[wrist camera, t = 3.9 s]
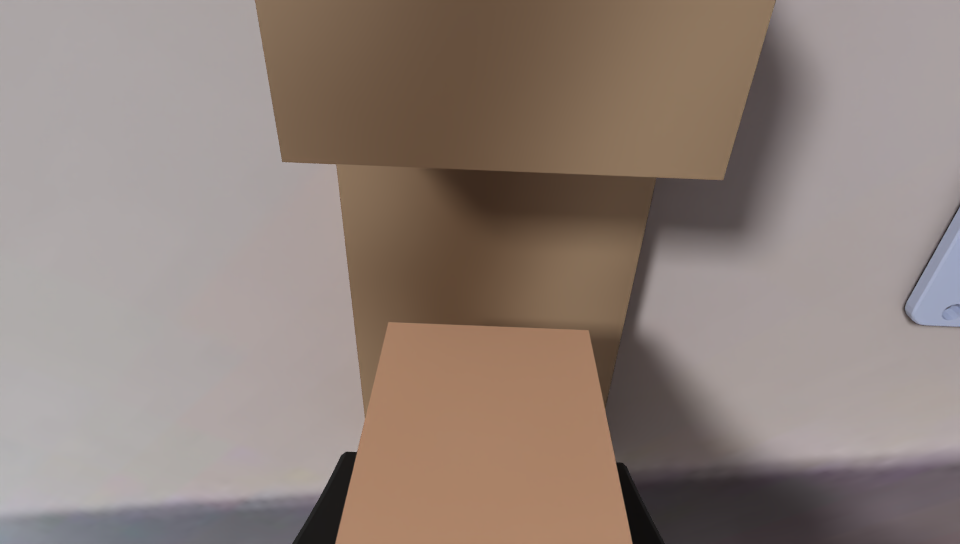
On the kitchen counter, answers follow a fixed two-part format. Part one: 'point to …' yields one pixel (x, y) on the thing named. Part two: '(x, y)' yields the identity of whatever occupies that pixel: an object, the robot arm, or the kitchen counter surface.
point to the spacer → (485, 442)
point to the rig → (505, 146)
